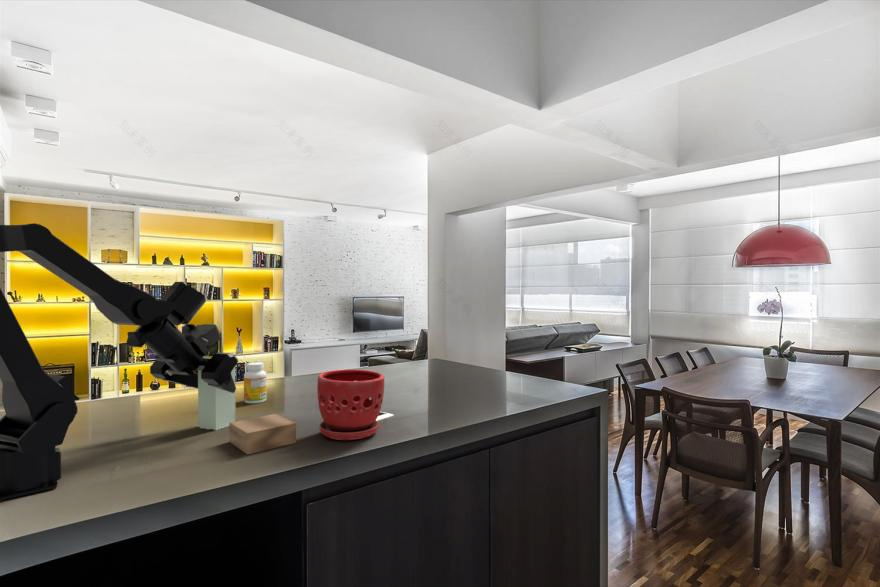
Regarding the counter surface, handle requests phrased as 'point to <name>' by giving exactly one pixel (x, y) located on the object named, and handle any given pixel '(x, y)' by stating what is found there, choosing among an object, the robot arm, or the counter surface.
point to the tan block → (262, 433)
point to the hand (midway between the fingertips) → (218, 389)
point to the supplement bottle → (255, 383)
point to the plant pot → (350, 403)
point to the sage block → (215, 405)
